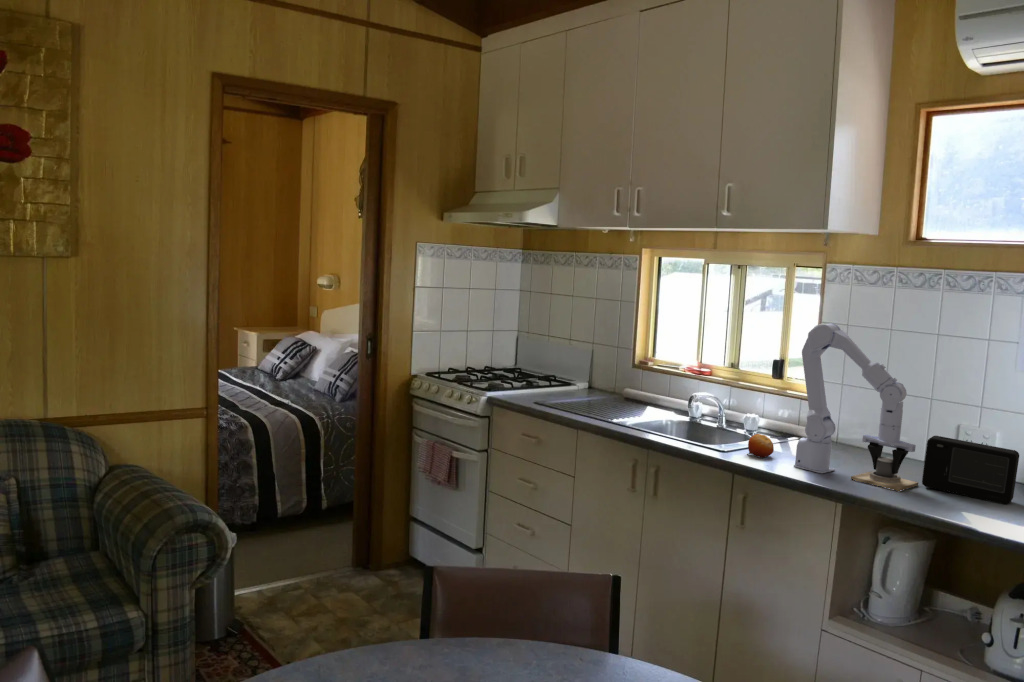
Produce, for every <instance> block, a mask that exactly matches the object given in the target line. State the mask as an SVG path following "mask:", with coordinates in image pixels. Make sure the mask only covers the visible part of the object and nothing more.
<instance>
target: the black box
mask: <svg viewBox="0 0 1024 682" xmlns="http://www.w3.org/2000/svg"><path fill="white" fill-rule="evenodd" d="M1019 461H1020V453H1019V452H1018V451H1017V450H1015V449H1008V448H1004V447H998V446H993V445H989V444H983V443H977V442H972V441H966V440H962V439H956V438H950V437H945V436H941V435H940V436H939V435H932V436H931V437H930V438H929V439H927V441H926V448H925V456H924V464H923V465H924V466H923V471H922V477H921V478H922V479H921V483H922V485H923V486H924V487H925V488H930V489H933V490H938V491H943V492H947V493H952V494H955V495H961V496H965V497H969V498H974V499H979V500H983V501H988V502H991V503H997V504H1001V505H1009V504H1010V503H1011V502H1012V500H1013V499H1014V497H1015V496H1014V494H1015V490H1016V489H1015V488H1016V480H1017V474H1018V468H1019Z"/></svg>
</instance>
